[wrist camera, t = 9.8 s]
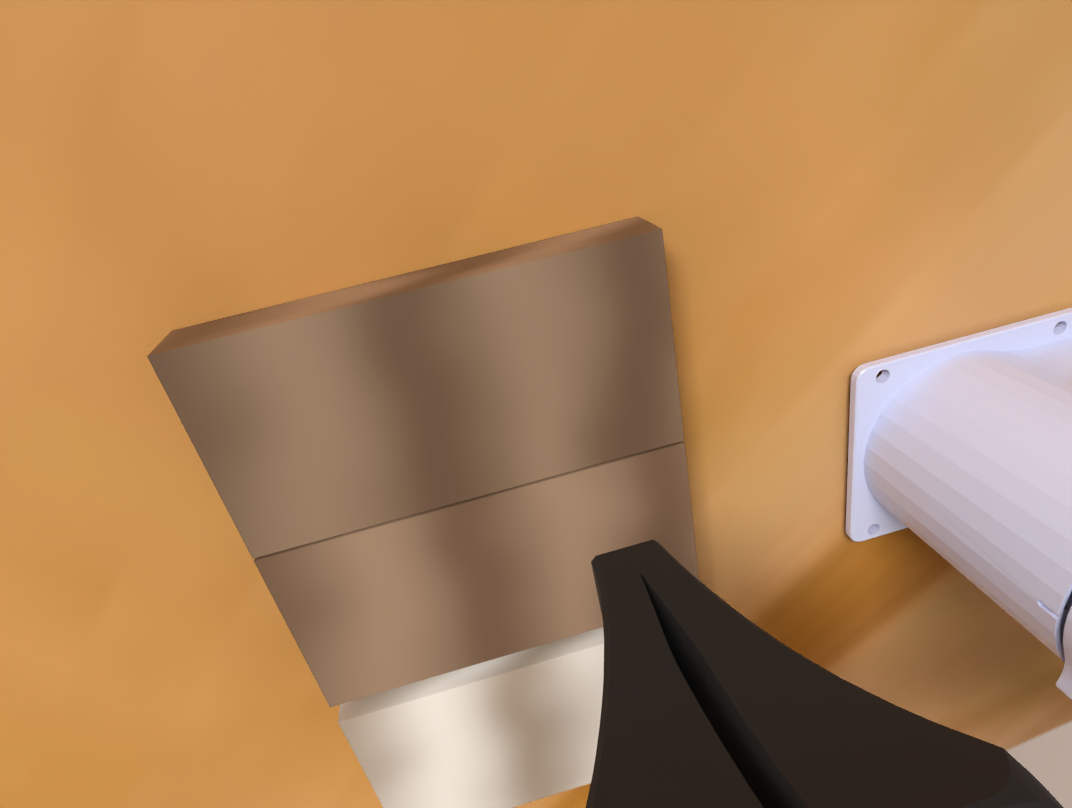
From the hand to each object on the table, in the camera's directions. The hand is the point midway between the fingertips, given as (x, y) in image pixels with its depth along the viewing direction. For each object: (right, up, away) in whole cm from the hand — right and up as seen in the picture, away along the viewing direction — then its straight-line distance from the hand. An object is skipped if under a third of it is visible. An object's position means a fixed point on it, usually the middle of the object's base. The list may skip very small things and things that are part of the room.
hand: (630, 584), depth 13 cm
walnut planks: (-4, +2, +9) cm, 10 cm away
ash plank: (-2, -9, +14) cm, 17 cm away
